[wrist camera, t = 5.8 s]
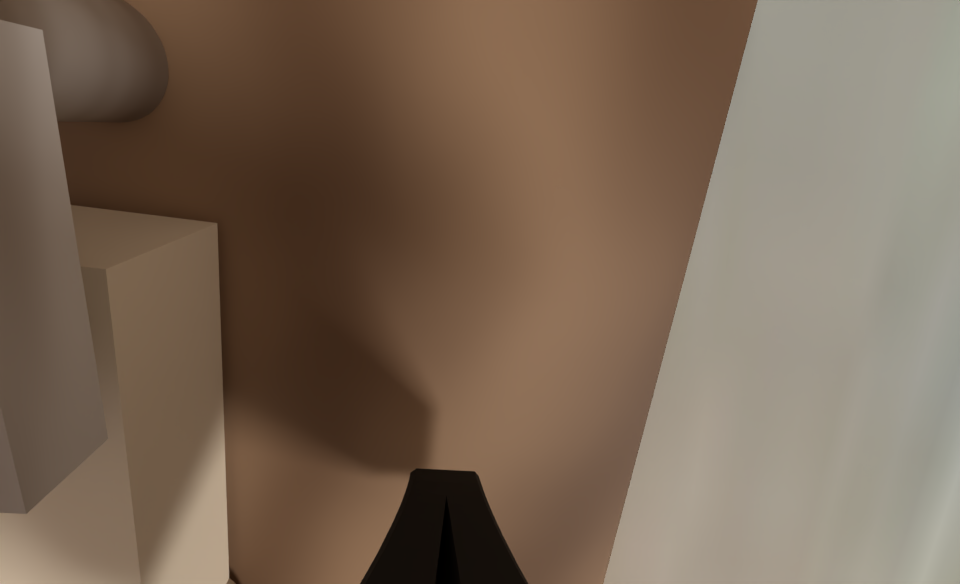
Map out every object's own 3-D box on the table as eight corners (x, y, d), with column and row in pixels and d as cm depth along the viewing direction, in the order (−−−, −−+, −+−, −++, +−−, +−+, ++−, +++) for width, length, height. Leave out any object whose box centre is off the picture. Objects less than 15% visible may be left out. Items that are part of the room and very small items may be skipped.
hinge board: (15, 643, 13) (-321, 1044, 8) (-207, -145, 8) (-2365, -1046, 2) (567, 650, 15) (645, 987, 9) (728, 1, 9) (1221, -219, 3)
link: (252, 672, 13) (173, 891, 9) (89, 668, 12) (-63, 895, 8) (245, 226, 9) (104, 295, 5) (8, 197, 8) (-326, 249, 5)
